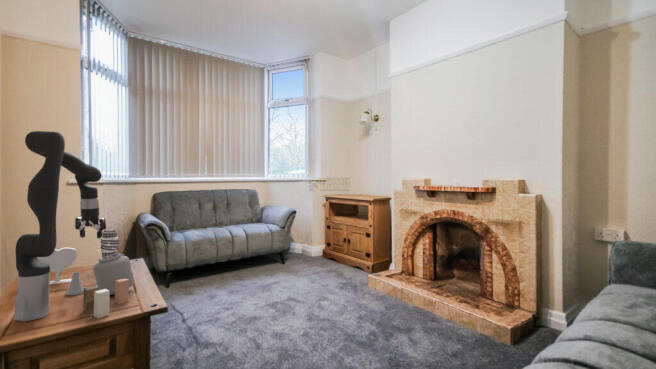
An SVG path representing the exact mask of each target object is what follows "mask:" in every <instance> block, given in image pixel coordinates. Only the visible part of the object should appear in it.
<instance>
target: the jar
mask: <svg viewBox="0 0 656 369" xmlns="http://www.w3.org/2000/svg"><path fill="white" fill-rule="evenodd" d="M108 245H109V244H108ZM99 250H100V249H97V251H99ZM104 250H105V249H104ZM114 250H115V249H114ZM115 251H116V250H115ZM99 252H100V251H99ZM124 254H125V253H123V254H122V253H120V252H119V253H118V252H117V253H116V254H111V255H108V256H105V257H102V256H101V257H102V258H101V257H100V258H98V262H97V263H95V264H94V266H93V267H92V268H93V270H92V271H93V274H94V278H95V281H96V286H97V287H99V290H102V289H107V290H109V291H110V296H111V295H115V280H119V279H124V278H126V279H128V280H129V289H131V287H132V286H133V285H134V284H135V278H134V273H133V269H132V265H131V261H130V258H129V257H128V256H126V255H124Z"/></svg>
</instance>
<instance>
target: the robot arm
mask: <svg viewBox="0 0 656 369" xmlns="http://www.w3.org/2000/svg"><path fill="white" fill-rule="evenodd" d="M24 143H25V146H26V148H27V149H28V150H29V151H30V152H32V153H34V154H37V155H38V156H41V157H44V158H45V160H44V163H43V165H42V167H41V168H40V169H39V171H38V172H37V173H36V174H35V175H34V176H33V178H32V179H31V180H30V182H29V183H28V187H27V195H26V201H27V204H28V207H29V208H30V209H31V211H32V213H33V214H34V215H35V218H37V221H38V226H39V231H38V232H39V233H26V234H22V235H20V237H19V238H18V239H17V241H16V243H15V251H14V252H15V269H16V271H17V272H18V273H17V274H18V276H17V294H16V295H15V296H14V321H18V322H21V323H26V322H29V321H35V320H39V319H43V318H44V317H47V316H48V315H49V314H50V288H51V286H50V285H51V284H50V282H51V280H50V278H51V271H50V266H49V265H48V264H46V263H43V262H41V261H40V260H39V259H38V257H48V256H50V255H52V254H53V252H54V250H55V249H57V248H56V247H57V240H58V238H57V208H58V200H59V190H60V188H59V186H60V176H61V175H60V174H61V169H62V168H61V167H63V168H64V169H66V170H67V171H69V172H71V174H73V175H74V178H75V181H76V183H77V186H78V189H79V191H80V192H79V195H80V203H79V204H80V207H79V208H80V216H79V217H75V219H74V220H75V221H74V228H75V230H78V231H79V237H80V238H82V239H83V238H85V237H86V230H85V229H86V228H88V227H90V228H93V229H95V230H96V231H97V232H96V238H97V239H102V232H103V231H104V230H106V229H107V224H106V218H105V217H104V218H100V216H99V215H100V203H99V202H100V201H99V194H98V193H99V191H98V188H97V187H96V186H92V185H90V184H89V183H96V182H99V181H100V180H101V178H102V172H101V170H99V169H98V168H97V167H95V166H93V165H91V164H89V163H86V162H85V161H83V160H82V159H81V158H80V157H78V156H77V155H74V154H72V153H69V152H67V151H65V149H66V142H65V138H64V136H63V134H62V133H60V132H59V131H58V132H57V131H45V130H44V131H43V130H41V131H40V130H35V131H30V132H28V133H27V134H26V136H25V137H24Z"/></svg>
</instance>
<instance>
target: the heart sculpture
mask: <svg viewBox="0 0 656 369" xmlns="http://www.w3.org/2000/svg"><path fill="white" fill-rule="evenodd" d="M77 256H78V252H77V249H76V248H74V247H66V246H65V247H61V248H60V249H57V248H55V250H54V252H53V254H52V255H50V256H48V257H37V258H38V260H40V261H41V262H43V263H46V264H48V265H49V266H50V272H53V273H55V280H50V285H54V284H55V285H56V284H63V283H69V282H71V280H72V278H66V279H61V272H63V271H64V270H66V269H67V268H69V267H70V266H71V265H73V264H74V262H76V260H77Z"/></svg>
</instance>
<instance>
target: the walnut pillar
mask: <svg viewBox="0 0 656 369" xmlns="http://www.w3.org/2000/svg"><path fill="white" fill-rule="evenodd" d="M98 290H99V287H98V286H97V285H90V286H87V287H84V292H83V301H82V302H83V303H82V304H83V306H82V308H83V310H82V312H83V313H85V315H86V314H87V315H89V314H93V313H94V291H98Z"/></svg>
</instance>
